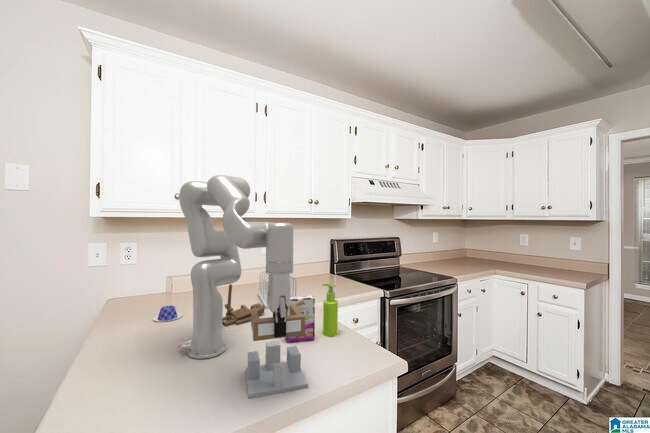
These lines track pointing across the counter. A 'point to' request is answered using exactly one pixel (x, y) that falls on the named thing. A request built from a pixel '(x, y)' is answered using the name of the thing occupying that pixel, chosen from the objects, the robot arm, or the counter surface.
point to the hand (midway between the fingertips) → (279, 333)
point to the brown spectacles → (265, 326)
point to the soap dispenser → (330, 313)
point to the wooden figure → (239, 312)
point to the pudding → (167, 314)
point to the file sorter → (263, 295)
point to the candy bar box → (308, 310)
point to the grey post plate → (274, 371)
